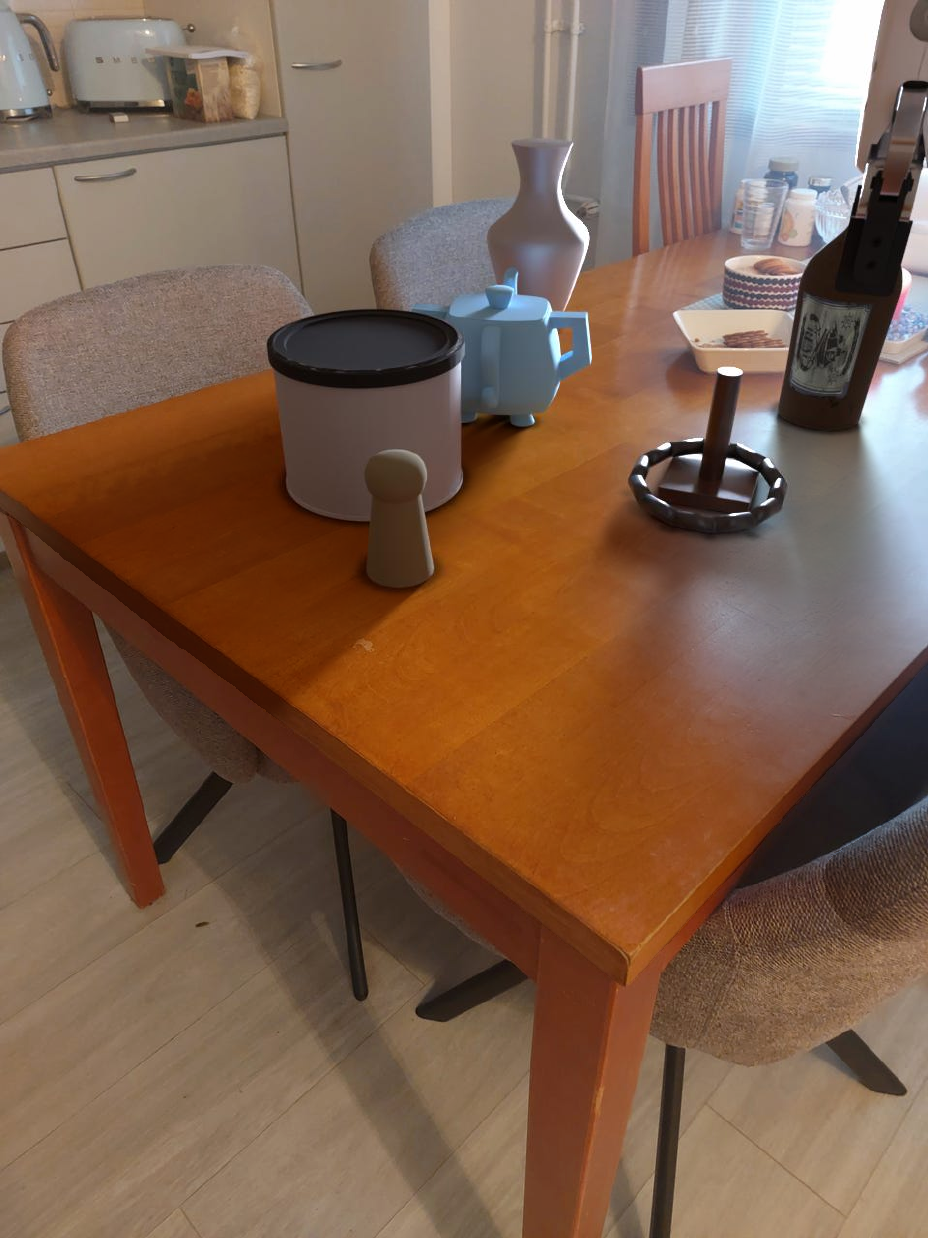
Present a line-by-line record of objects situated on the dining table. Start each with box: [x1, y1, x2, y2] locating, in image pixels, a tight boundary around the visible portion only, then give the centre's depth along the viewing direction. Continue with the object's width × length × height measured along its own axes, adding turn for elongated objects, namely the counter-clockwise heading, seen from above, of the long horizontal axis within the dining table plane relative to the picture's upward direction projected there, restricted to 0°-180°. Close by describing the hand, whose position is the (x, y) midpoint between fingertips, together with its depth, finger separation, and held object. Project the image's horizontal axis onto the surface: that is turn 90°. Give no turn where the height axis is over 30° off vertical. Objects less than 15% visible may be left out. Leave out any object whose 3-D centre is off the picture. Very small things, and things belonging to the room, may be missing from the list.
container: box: [266, 308, 465, 522], centre depth 90 cm, size 19×19×15 cm
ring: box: [627, 437, 788, 534], centre depth 90 cm, size 15×15×2 cm
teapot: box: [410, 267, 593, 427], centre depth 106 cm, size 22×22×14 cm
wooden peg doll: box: [364, 449, 435, 589], centre depth 77 cm, size 6×6×11 cm
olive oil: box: [777, 202, 904, 432], centre depth 100 cm, size 11×11×25 cm
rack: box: [656, 366, 761, 514], centre depth 89 cm, size 9×9×12 cm
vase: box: [486, 137, 590, 312], centre depth 127 cm, size 14×14×25 cm
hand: (865, 271), depth 55 cm, fingers open, 9 cm apart
